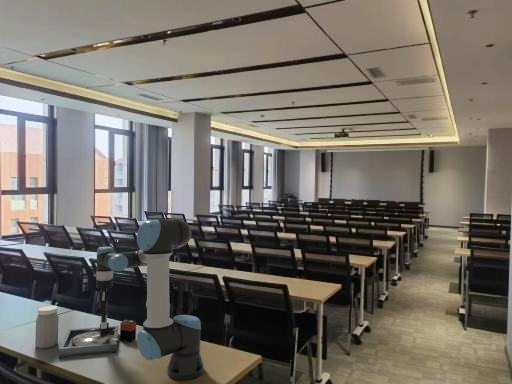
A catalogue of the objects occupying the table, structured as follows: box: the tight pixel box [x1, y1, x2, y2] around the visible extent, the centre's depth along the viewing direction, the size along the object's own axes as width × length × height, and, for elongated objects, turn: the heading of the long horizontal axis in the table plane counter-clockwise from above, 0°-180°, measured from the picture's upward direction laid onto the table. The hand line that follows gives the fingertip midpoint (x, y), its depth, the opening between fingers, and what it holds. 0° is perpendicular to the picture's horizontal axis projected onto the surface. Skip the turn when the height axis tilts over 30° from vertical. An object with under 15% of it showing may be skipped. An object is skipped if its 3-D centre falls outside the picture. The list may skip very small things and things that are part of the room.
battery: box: [119, 319, 137, 343], centre depth 190 cm, size 4×7×10 cm, turn 69°
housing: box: [58, 325, 120, 359], centre depth 184 cm, size 24×25×4 cm
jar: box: [34, 305, 60, 350], centre depth 181 cm, size 10×10×18 cm
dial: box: [72, 321, 110, 347], centre depth 183 cm, size 17×17×8 cm
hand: (103, 328), depth 182 cm, fingers closed
